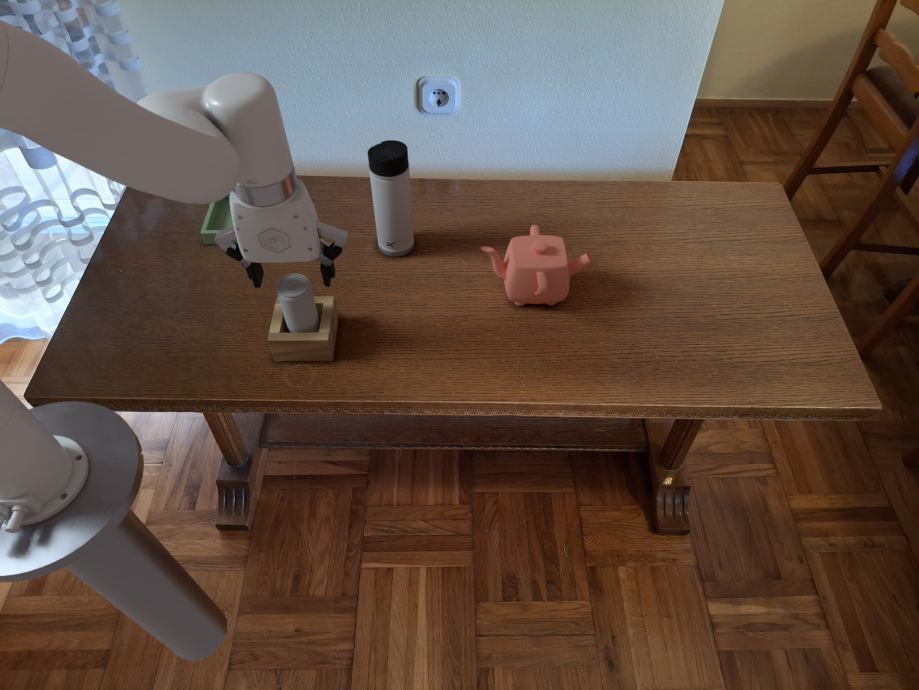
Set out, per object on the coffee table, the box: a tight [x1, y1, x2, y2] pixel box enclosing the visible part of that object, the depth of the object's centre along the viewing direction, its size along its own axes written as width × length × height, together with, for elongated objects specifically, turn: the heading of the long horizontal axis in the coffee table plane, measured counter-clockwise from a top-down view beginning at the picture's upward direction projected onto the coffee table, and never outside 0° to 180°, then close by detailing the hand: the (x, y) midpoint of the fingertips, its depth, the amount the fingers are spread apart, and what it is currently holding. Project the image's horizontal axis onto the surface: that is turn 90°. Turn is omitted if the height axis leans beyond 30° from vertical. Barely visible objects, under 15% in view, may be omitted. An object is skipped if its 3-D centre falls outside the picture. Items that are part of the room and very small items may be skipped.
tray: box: [200, 194, 238, 245], centre depth 118 cm, size 13×14×3 cm
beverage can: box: [276, 272, 320, 333], centre depth 97 cm, size 5×5×12 cm
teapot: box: [480, 224, 595, 306], centre depth 104 cm, size 14×12×10 cm
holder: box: [267, 295, 339, 362], centre depth 99 cm, size 9×9×5 cm
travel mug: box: [367, 139, 415, 257], centre depth 107 cm, size 6×7×20 cm
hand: (294, 280), depth 92 cm, fingers open, 9 cm apart
